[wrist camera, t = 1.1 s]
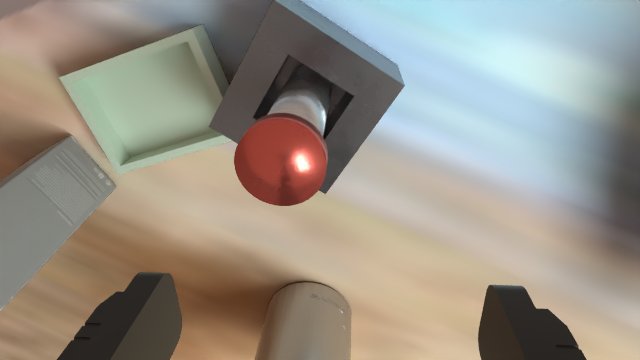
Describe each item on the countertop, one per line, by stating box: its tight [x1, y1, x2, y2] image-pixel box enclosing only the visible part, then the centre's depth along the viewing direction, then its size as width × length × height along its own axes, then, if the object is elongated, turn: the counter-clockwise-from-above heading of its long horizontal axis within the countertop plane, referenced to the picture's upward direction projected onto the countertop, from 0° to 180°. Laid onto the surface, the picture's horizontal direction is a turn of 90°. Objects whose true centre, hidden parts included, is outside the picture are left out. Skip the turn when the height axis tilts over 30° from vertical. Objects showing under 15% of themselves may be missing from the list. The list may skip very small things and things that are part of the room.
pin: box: [234, 65, 332, 206], centre depth 27 cm, size 5×5×14 cm
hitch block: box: [208, 0, 405, 194], centre depth 32 cm, size 10×10×6 cm
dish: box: [59, 24, 232, 175], centre depth 35 cm, size 12×9×2 cm
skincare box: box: [0, 135, 116, 311], centre depth 34 cm, size 8×7×16 cm
